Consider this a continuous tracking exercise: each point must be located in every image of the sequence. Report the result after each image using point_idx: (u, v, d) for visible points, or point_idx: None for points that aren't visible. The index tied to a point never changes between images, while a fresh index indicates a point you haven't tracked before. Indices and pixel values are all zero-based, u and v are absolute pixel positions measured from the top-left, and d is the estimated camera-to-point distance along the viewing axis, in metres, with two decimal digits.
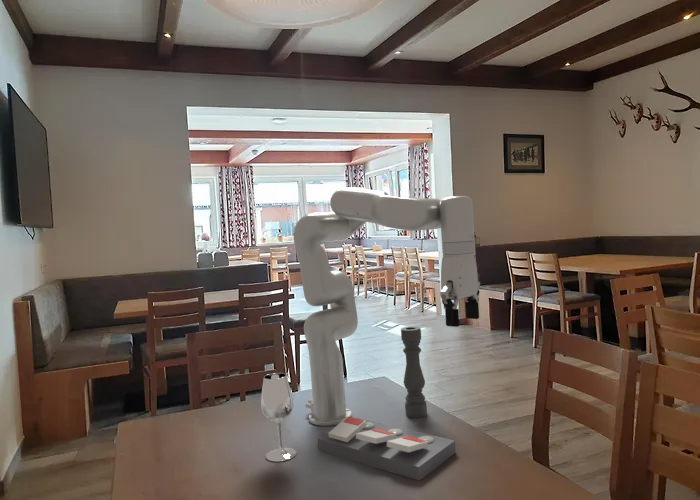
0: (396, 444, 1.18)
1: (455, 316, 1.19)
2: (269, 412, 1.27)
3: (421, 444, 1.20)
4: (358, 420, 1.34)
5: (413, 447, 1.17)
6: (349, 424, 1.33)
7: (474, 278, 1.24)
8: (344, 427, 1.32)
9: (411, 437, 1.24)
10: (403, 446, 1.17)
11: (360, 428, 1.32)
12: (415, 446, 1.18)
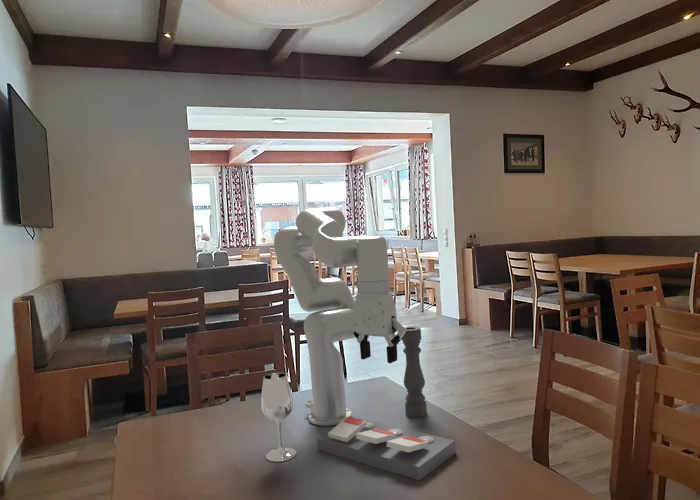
0: (396, 444, 1.18)
1: None
2: (269, 412, 1.27)
3: (421, 444, 1.20)
4: (358, 420, 1.34)
5: (413, 447, 1.17)
6: (349, 424, 1.33)
7: None
8: (344, 427, 1.32)
9: (411, 437, 1.24)
10: (403, 446, 1.17)
11: (360, 428, 1.32)
12: (415, 446, 1.18)
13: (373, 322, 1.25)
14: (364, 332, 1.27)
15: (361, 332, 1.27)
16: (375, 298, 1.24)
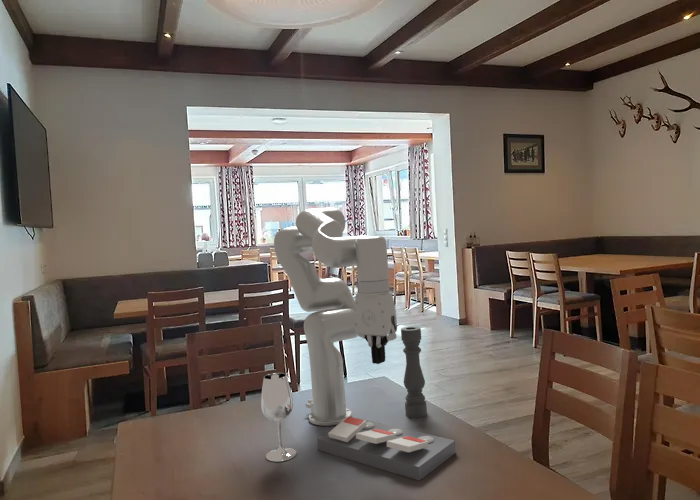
0: (396, 444, 1.18)
1: None
2: (269, 412, 1.27)
3: (421, 444, 1.20)
4: (358, 420, 1.34)
5: (413, 447, 1.17)
6: (349, 424, 1.33)
7: None
8: (344, 427, 1.32)
9: (411, 437, 1.24)
10: (403, 446, 1.17)
11: (360, 428, 1.32)
12: (415, 446, 1.18)
13: (373, 322, 1.25)
14: (364, 331, 1.27)
15: (361, 332, 1.27)
16: (375, 298, 1.24)
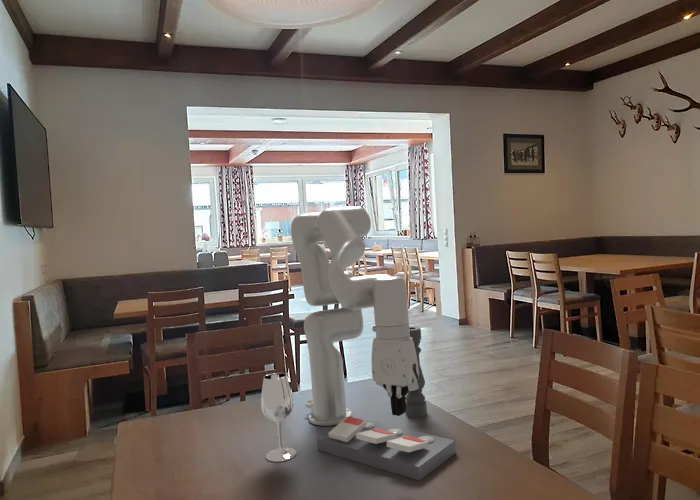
0: (396, 444, 1.18)
1: None
2: (269, 412, 1.27)
3: (421, 444, 1.20)
4: (358, 420, 1.34)
5: (413, 447, 1.17)
6: (349, 424, 1.33)
7: None
8: (344, 427, 1.32)
9: (411, 437, 1.24)
10: (403, 446, 1.17)
11: (360, 428, 1.32)
12: (415, 446, 1.18)
13: (392, 370, 1.15)
14: (383, 381, 1.16)
15: (379, 381, 1.17)
16: (394, 344, 1.14)
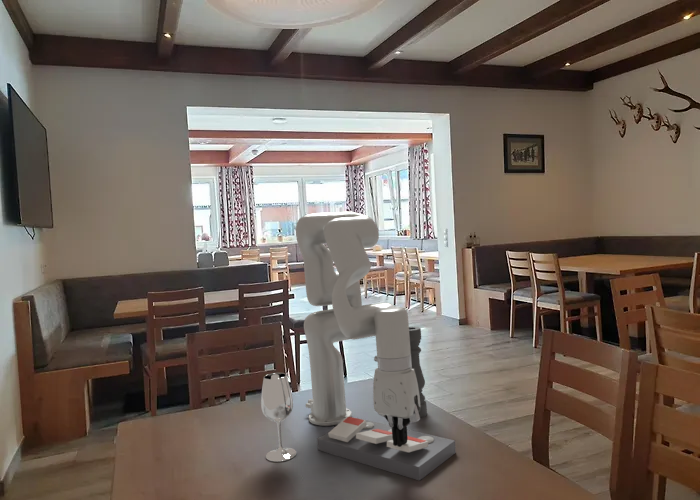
0: None
1: None
2: (269, 412, 1.27)
3: (421, 444, 1.20)
4: (358, 420, 1.34)
5: (413, 447, 1.17)
6: (349, 424, 1.33)
7: None
8: (344, 427, 1.32)
9: (411, 437, 1.24)
10: (403, 446, 1.17)
11: (360, 428, 1.32)
12: (415, 446, 1.18)
13: (394, 402, 1.15)
14: (384, 411, 1.17)
15: (381, 411, 1.18)
16: (396, 376, 1.14)
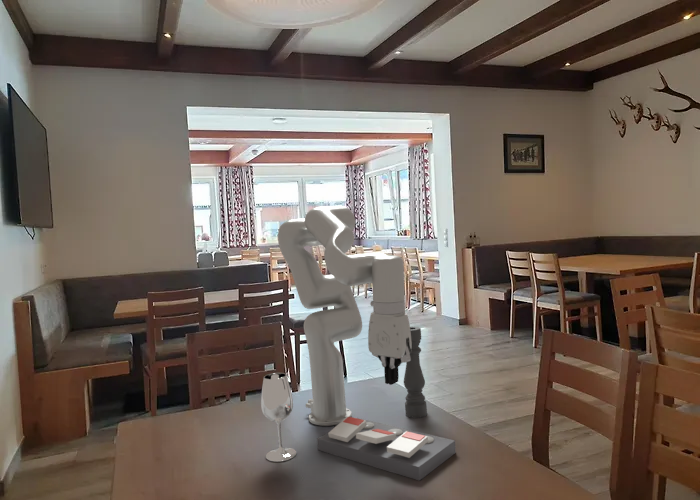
0: (396, 450, 1.18)
1: None
2: (269, 412, 1.27)
3: (421, 443, 1.20)
4: (358, 420, 1.34)
5: (413, 450, 1.17)
6: (349, 424, 1.33)
7: None
8: (344, 427, 1.32)
9: (410, 433, 1.24)
10: (403, 452, 1.17)
11: (360, 428, 1.32)
12: (415, 448, 1.18)
13: (387, 343, 1.23)
14: (378, 352, 1.25)
15: (374, 352, 1.26)
16: (390, 319, 1.22)
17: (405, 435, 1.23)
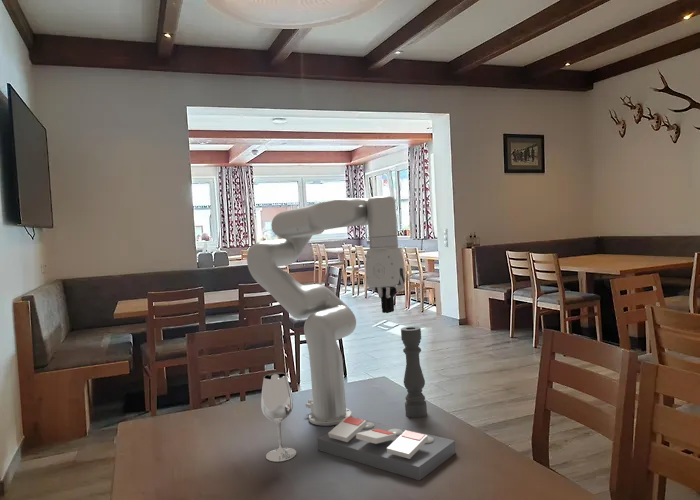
0: (396, 451, 1.18)
1: None
2: (269, 412, 1.27)
3: (421, 442, 1.20)
4: (358, 420, 1.34)
5: (413, 451, 1.17)
6: (349, 424, 1.33)
7: None
8: (344, 427, 1.32)
9: (410, 432, 1.24)
10: (403, 453, 1.17)
11: (360, 428, 1.32)
12: (415, 448, 1.18)
13: (383, 274, 1.37)
14: (375, 283, 1.39)
15: (372, 284, 1.39)
16: (385, 251, 1.36)
17: (405, 435, 1.23)
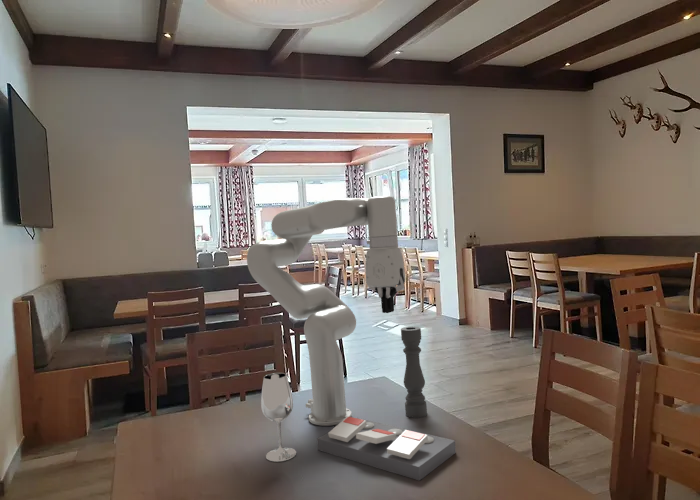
0: (396, 451, 1.18)
1: None
2: (269, 412, 1.27)
3: (421, 442, 1.20)
4: (358, 420, 1.34)
5: (413, 451, 1.17)
6: (349, 424, 1.33)
7: None
8: (344, 427, 1.32)
9: (410, 432, 1.24)
10: (403, 454, 1.17)
11: (360, 428, 1.32)
12: (415, 449, 1.18)
13: (383, 274, 1.37)
14: (375, 283, 1.39)
15: (372, 284, 1.39)
16: (385, 251, 1.36)
17: (405, 434, 1.23)
